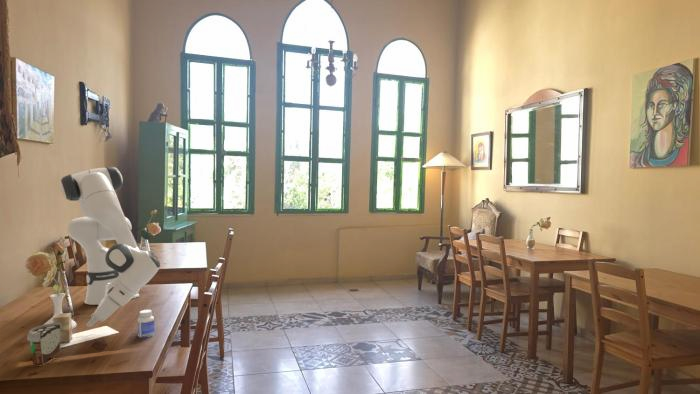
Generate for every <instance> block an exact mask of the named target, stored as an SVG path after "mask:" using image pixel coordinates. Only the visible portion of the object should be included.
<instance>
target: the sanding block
mask: <svg viewBox="0 0 700 394" xmlns="http://www.w3.org/2000/svg"><path fill="white" fill-rule="evenodd" d="M53 316H54V315H53ZM71 319H72V312H67V313H66V312H65V313H64V312H63V314H56V315H55V316H54V318H53V323H59V322H61V325H62V328H61V340H60V344H63V343H70V341H71V339H72V334H73V329H72V320H73V319H72V320H71Z"/></svg>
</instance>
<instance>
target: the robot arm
mask: <svg viewBox="0 0 700 394" xmlns="http://www.w3.org/2000/svg"><path fill="white" fill-rule="evenodd" d="M123 179H124V178H123V175H122V173H121V171H120V170H119V169H118V168H117V167H116V166H106V167H98V168H97V167H96V168H91V169H87V170H83V171H80V172H76V173H74V174H67V175H65V176H63V177H62V178H61V179H60V185H59V189H60V192H61V194H62V195H63V196H64V197H65V198H66V199H67V200H68V201H73V202H74V201H75V202H76V201H78V202H79V203H78V204H79V206H80V211H81V212H82V213H83V215H84V216H82V217H76V218H73V219H72V220H70V221H69V224H68V225H67V233H68V236H69V237H70V238H71V239H72V240H73V241H75V242H77V243H78V244H79V245H80V246H81V247H82V249H83V251H84V254H85V256H86V265H87V271H86V276H85V277H86V284H87V287H86V295H85V300H84V304H86V305H91V306H92V305H93V306H95V305H97V308H96V309H95V311H94V312H92V314H91V315H90V319H89V321H88V322H87V323H86V327H87V328H89V329H92V327H93V326H94V325H95V324H96V323H98V322H101V323H102V322H104V321H105V320H106V319H108V318H109V317H110V316H111V315H113V314H114V313H115V312H116V311H117V310H118V309H119V308H120V307H124V306H125V305H126V304H129V302H130V301H131V300H133V299H135V298H139V297H140V293H139V291H140V289H141V288H143V287H144V286H145V285H146V284H148V283H149V282H150V280H152V278H153V277H154V276H155V275H156V274H157V273H158V271H159V269H160V267H161V263H160V260H159V259H158V257H157V256H156V255H155V254H154V253H152V251H150V250H142V249H141V248H140V246H139V244H138V242H137V240H136V237H135V236H134V234H133V231H132V229H133V228H132V226H133V225H132V223H131V221H130V219H129V218H127V217H126V216H125V213H124V211H123V209H122V207H121V204H120V201H119V199H118V195H117V193H116V192H117V191H119V190H121V188H122V187H123V183H124V182H123V181H124V180H123ZM113 240H115V241H116V244H114V245H112V246H111V247H109V248H108V247H106V246H104V245H102V244H101V241H113Z"/></svg>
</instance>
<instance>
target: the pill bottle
mask: <svg viewBox="0 0 700 394" xmlns="http://www.w3.org/2000/svg"><path fill="white" fill-rule="evenodd" d="M152 314H153V311H152V310H151V309H143V310H140V311H139V314H138V315H139V317H138V318H137V337H138V338H142V339H144V338H150V337H153V336H154V335H156V334H155V333H156V332H155V331H156V330H155V317H154V316H153V315H152Z"/></svg>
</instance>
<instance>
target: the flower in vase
mask: <svg viewBox="0 0 700 394" xmlns="http://www.w3.org/2000/svg"><path fill="white" fill-rule="evenodd" d="M57 271H58V268H57V266H56V265H55V266H52V267H51V268H50V270H48V271H47V274H46V277H44V278H43V283H42V284H41V286H43V288H46V287H48V286H49V285H50V284H51V283H52V282H53V281H54V282H55V284H54V285H53V287H52V289H53V291H55V292H56V293H53V294H50V295H49V297H50V298H51V300H52V302H53V305H54V306H53V307H54V314H53V316H52V317H51V318H50V319H48V320H47V321H46V322H45V323H44V324H43V325H45V324H50V323H53V318H54V316H55V315H56V314H64V312H63V309H62V307H63V306H62V305H63V300H64V297H65V296H66V293H64V292H62V293H61V287H60V286H59V283H58V281H57V280H56V278H55V276H56V274H57ZM71 320H72V330H73V329H75V328H76V327H77V326H78V324H77V323H76V321H74V319H72V318H71Z"/></svg>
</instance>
